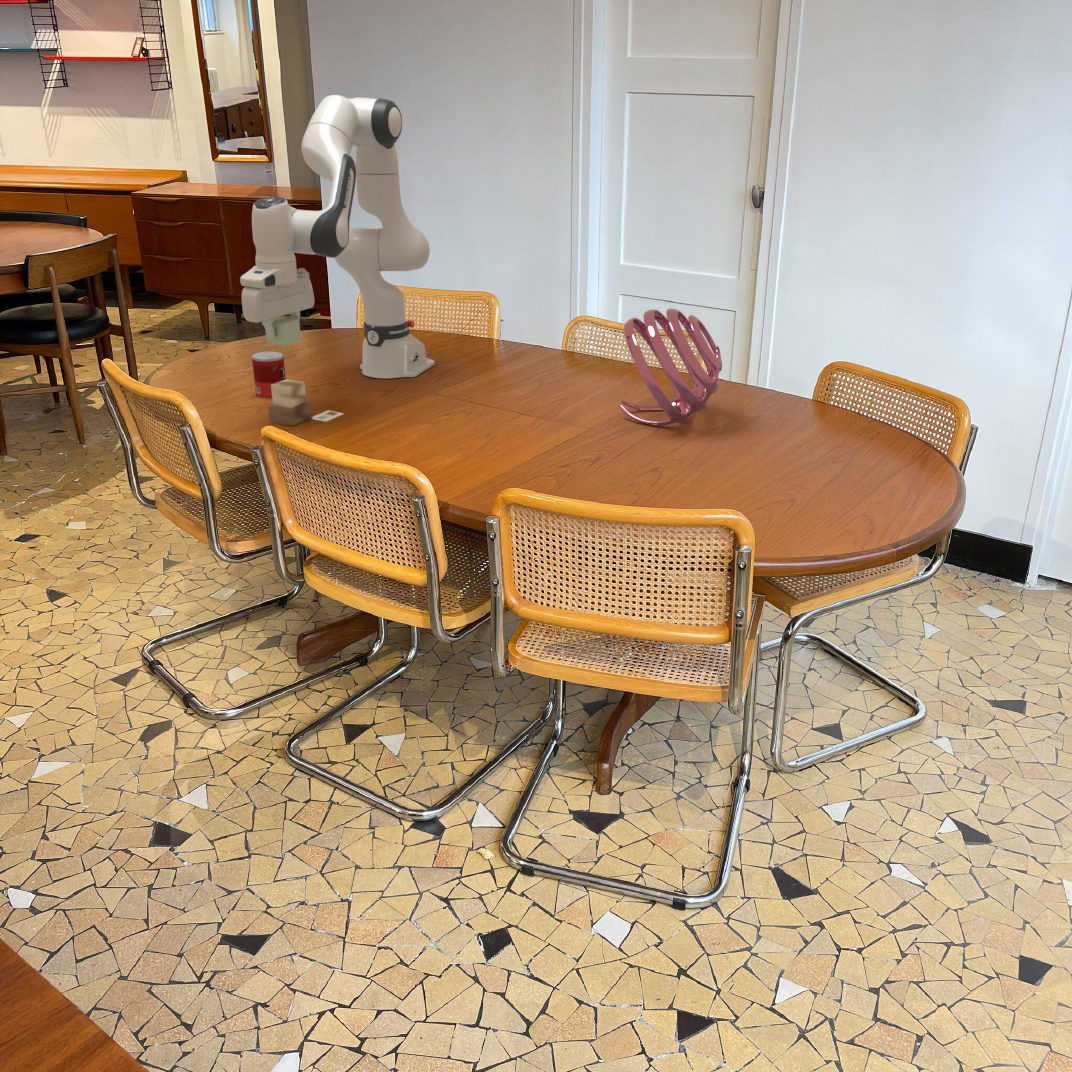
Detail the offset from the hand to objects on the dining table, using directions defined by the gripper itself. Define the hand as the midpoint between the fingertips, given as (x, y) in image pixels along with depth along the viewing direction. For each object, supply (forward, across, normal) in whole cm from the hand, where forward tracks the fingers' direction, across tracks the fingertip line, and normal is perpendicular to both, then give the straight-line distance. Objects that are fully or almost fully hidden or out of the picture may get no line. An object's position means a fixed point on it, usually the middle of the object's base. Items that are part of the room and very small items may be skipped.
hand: (282, 334), depth 232 cm
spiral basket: (+22, -49, +77) cm, 94 cm away
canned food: (+22, -14, -19) cm, 32 cm away
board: (+22, -2, 0) cm, 22 cm away
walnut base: (+21, 0, 0) cm, 21 cm away
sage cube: (+2, 0, 0) cm, 2 cm away
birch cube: (+17, 0, 0) cm, 17 cm away
